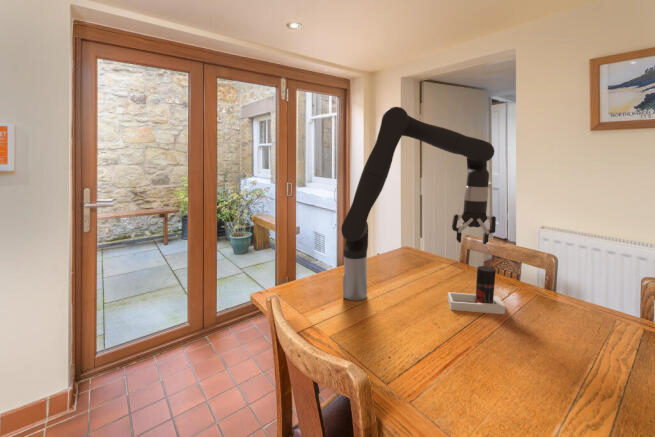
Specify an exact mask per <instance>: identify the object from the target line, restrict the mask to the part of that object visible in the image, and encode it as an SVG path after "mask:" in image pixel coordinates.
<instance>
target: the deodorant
mask: <svg viewBox="0 0 655 437" xmlns="http://www.w3.org/2000/svg"><path fill="white" fill-rule="evenodd" d="M496 271H497V270H496V268H494V267H492V266H487V265H479V266H477V270H476V284H475V294H476V296H475V303H490V304H493V297H494V296H495V295H494V294H495V282H496Z"/></svg>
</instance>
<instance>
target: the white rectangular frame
mask: <svg viewBox="0 0 655 437" xmlns="http://www.w3.org/2000/svg"><path fill="white" fill-rule="evenodd" d="M475 296H476V293H462V292H451V291H450V292H447V301H448V305H449V309H450V310H451V311H461V312H471V313H472V312H473V313H484V314H485V313H486V314H498V315H505V314H506V305H505V303H504V302H503V301H502V299H501V297H500V295H494V297H493V304H490V303H475Z"/></svg>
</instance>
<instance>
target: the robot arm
mask: <svg viewBox="0 0 655 437" xmlns="http://www.w3.org/2000/svg"><path fill="white" fill-rule="evenodd" d="M402 137H409V138H411V139H415V140H418V141H420V142H423V143H426V144H428V145H429V146H433V147H435V148H438V149H440V150H441V151H442V150H443V151H445V152H448V153H451V154H455V155H459V156H460V155H461V156H462V157H466V168H467V175H466V176H467V177H466V187H465V192H464V196H463V198H464V200H463V211H462V214H457V213H454V214H453V218H452V222H451V224H452V225H451V229H452V230H453V231H454V232H456V237H455V238H456V241H457V242H458V243H462V235H463V234H462V232H463V231H464V230H465V229H466V228H467V227H469V228H474V227H475V228H481V229H482V230H483V237H482V244H483V245H486V244H487V243H488V242H489V239H490V234H494V233H496V227H497V226H496V224H497V222H496V221H497V217H496V216H495V215H493V214H492V215H487V210H488V199H489V198H488V197H489V182H490V180H489V179H490V173H489V170H488V165H487V164H488V161H491V160H492V159H493V157H494V156H495V148H494V146H493V145H492V144H491V143H490V142H489V141H486V140H483V139H480V138H475V137H472V136H467V135H465V134H462V133H460V132H457V131H456V130H455V131H454V130H451V129H449V128H446V127H441V126H437V125H434V124H429V123H426V122H424V121H421V120H418V119H416V118H414V117H412V116H410V115H409V114H408V112H407V111H406V110H405V109H404V108H402V107H401V106H393V107H390V108H388V109H386V111H385V112H384V113H383V114H382V118H381V122H380V127H379V130H378V134H377V138H376V142H375V144H374V146H373V148H372V150H371V152H370V154H369V156H368V158H367V160H366V162H365V165H364V167H363V169H362V171H361V172H362V173H361V175H360V176H359V180H358V184H357V187H356V190H355V193H354V197H353V201H352V203H351V206H350V208H349V210H348V212H347V214H346V217H345V218H344V220H343V221H342V224H341V228H340V230H341V235H342V236H343V238H344V239H345V244H344V248H343V275H342V298H343V299H347V300H349V301H353V302H354V301H355V302H357V301H363V300H365V299H366V298H367V296H368V295H367V294H368V285H367V284H368V273H367V272H368V267H367V266H368V256H367V255H368V248H369V225H368V221H367V220H368V218H369V215H370V212H371V210H372V208H373V206H374V205H375V203H376V201H377V200H378V198H379V197H380V195H381V192H382V191H383V189H384V187H385V183H386V181H387V178H388V176H389V173H390V169H391V166H392V162H393V158H394V155H395V151H396V149H397V146H398V144H399V142H400V140H401V138H402ZM461 219H462V221H463V222H462V223H461V224H460V225H459V226H458V221H459V222H460V220H461ZM486 221H488V222H489V229H488V227H487V226H486V225H485V224H484V223H485V222H486ZM457 226H458V227H457Z"/></svg>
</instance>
